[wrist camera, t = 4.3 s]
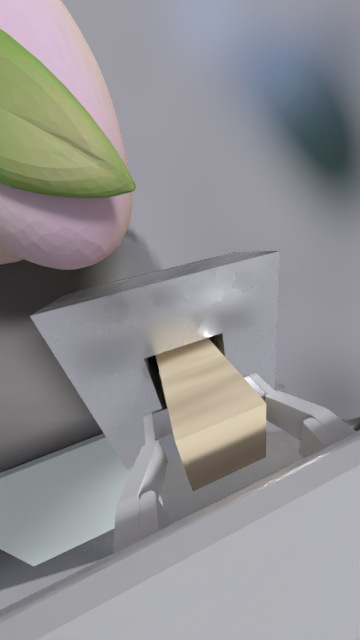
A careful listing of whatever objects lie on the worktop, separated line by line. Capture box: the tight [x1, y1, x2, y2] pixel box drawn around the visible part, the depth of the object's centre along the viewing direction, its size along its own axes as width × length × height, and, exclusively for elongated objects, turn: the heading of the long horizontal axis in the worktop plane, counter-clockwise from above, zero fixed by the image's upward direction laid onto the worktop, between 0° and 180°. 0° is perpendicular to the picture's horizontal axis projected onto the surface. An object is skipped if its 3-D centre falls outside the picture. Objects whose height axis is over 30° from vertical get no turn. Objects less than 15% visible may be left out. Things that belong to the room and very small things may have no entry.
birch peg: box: [156, 338, 266, 491], centre depth 12 cm, size 4×4×10 cm
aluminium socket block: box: [30, 251, 280, 470], centre depth 14 cm, size 14×14×5 cm
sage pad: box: [0, 433, 163, 566], centre depth 21 cm, size 18×18×1 cm
